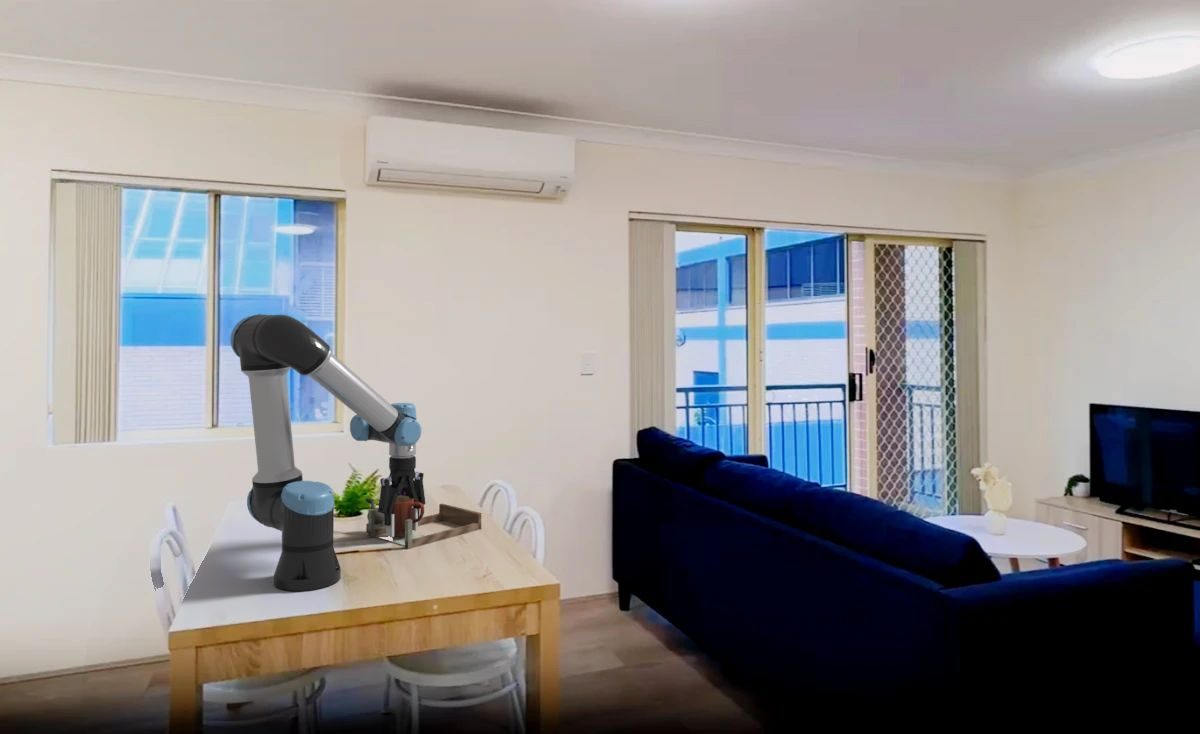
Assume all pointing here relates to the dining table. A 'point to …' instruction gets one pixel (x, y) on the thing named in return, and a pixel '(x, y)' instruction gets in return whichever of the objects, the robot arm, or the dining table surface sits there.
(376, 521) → the tray
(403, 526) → the mug
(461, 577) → the dining table surface
